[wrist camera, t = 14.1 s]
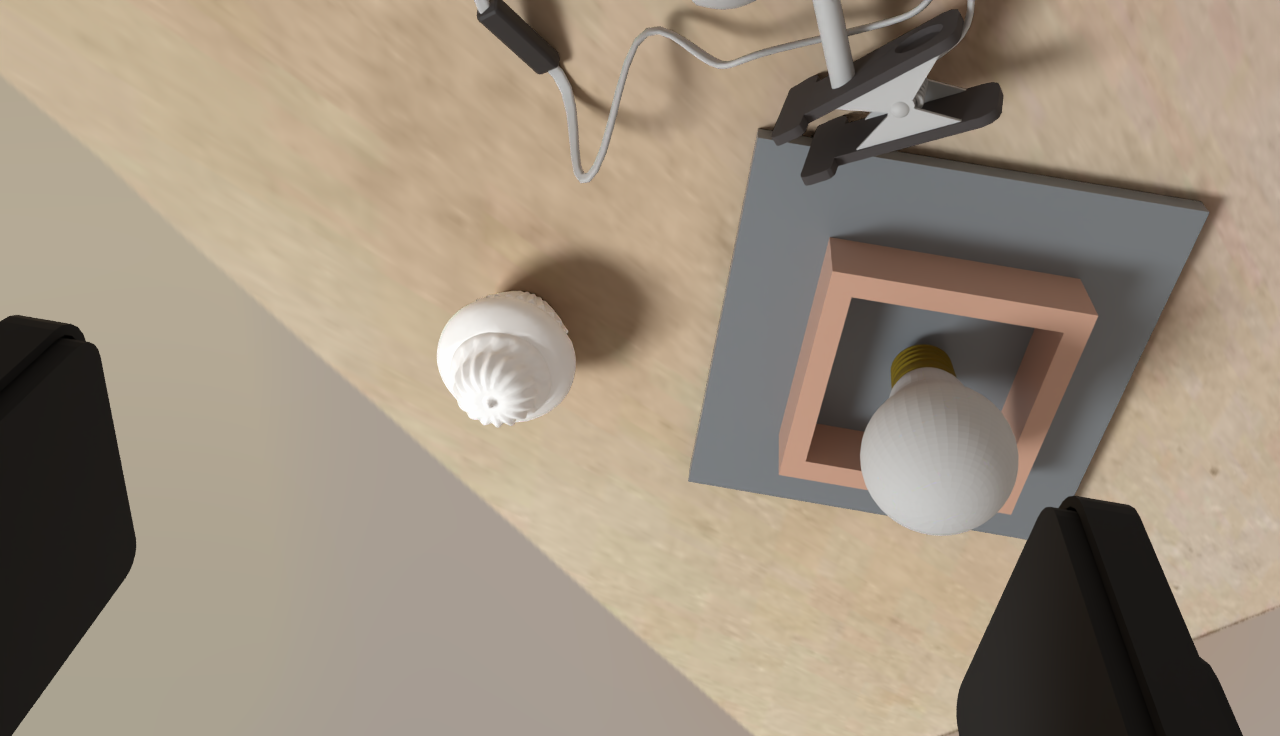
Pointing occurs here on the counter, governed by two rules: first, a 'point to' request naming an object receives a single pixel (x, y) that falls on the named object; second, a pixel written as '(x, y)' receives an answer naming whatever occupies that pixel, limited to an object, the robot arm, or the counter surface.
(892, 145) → the clip-on lamp
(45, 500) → the robot arm
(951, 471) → the light bulb
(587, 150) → the counter surface
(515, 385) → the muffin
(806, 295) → the holder board
